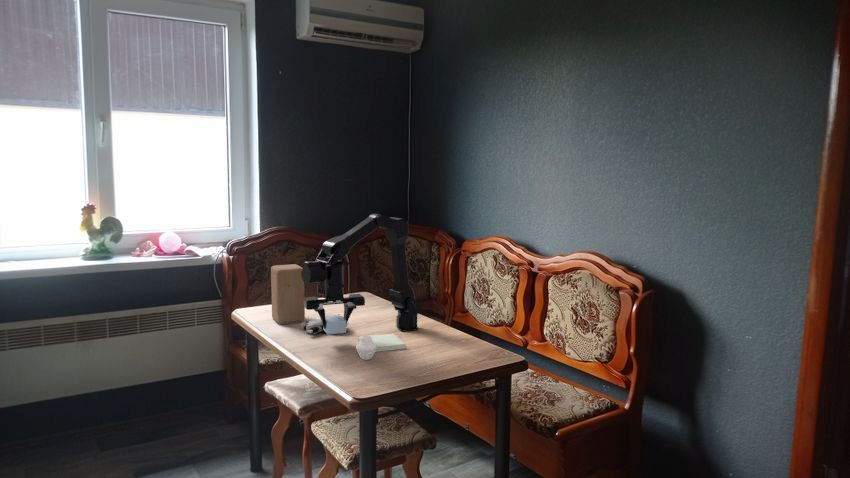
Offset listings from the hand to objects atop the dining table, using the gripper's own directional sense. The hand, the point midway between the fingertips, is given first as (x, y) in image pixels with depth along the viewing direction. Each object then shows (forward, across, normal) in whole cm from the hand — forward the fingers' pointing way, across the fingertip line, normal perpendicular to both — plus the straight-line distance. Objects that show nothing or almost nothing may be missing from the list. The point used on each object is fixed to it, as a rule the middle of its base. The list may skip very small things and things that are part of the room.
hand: (334, 327), depth 201 cm
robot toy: (+6, 0, -16) cm, 17 cm away
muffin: (+6, -6, +16) cm, 18 cm away
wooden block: (+6, +10, -34) cm, 36 cm away
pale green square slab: (+6, -14, +5) cm, 16 cm away
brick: (+1, 0, 0) cm, 1 cm away
